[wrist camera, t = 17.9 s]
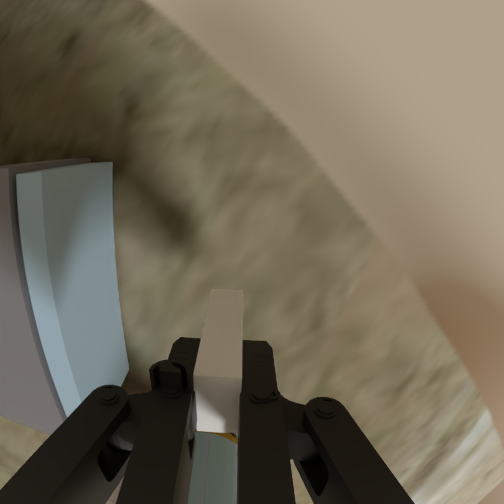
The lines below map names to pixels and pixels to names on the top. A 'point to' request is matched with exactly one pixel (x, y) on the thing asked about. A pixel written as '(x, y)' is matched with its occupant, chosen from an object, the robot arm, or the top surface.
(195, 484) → the bottle
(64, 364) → the light blue drawer
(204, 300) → the top surface
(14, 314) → the housing
